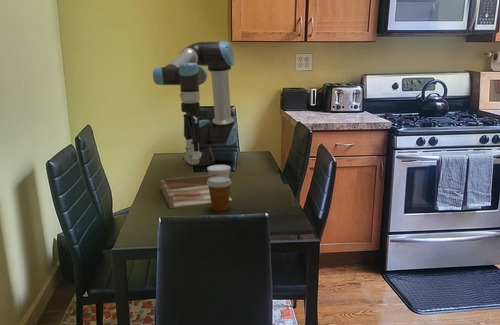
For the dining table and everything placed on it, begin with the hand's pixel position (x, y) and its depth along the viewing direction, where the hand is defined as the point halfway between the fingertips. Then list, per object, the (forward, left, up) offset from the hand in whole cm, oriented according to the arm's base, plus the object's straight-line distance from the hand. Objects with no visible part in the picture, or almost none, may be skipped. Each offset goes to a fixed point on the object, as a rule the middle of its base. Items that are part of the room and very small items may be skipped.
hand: (192, 156), depth 189 cm
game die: (0, 0, -4) cm, 4 cm away
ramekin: (-23, +17, -18) cm, 34 cm away
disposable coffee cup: (+19, +6, -18) cm, 26 cm away
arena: (-1, 0, -17) cm, 17 cm away
